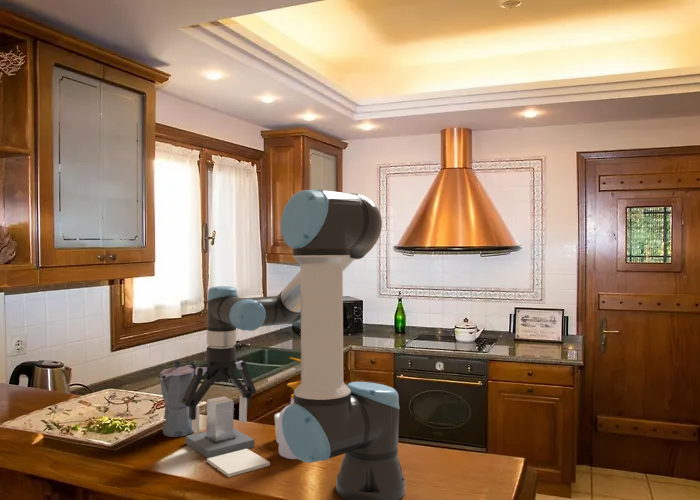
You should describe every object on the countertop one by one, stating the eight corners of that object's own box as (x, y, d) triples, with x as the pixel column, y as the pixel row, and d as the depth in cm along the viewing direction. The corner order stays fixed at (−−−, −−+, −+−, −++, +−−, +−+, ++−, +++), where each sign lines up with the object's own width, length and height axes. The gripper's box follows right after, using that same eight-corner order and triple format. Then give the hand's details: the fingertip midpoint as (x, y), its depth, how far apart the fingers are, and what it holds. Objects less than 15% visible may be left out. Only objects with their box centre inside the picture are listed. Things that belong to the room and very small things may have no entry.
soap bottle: (271, 452, 144) (273, 356, 143) (300, 444, 150) (302, 352, 149) (292, 463, 137) (294, 362, 137) (321, 454, 143) (323, 358, 143)
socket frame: (254, 447, 147) (254, 439, 147) (207, 459, 139) (208, 450, 138) (230, 433, 157) (230, 426, 157) (185, 443, 148) (185, 436, 148)
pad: (269, 465, 135) (269, 462, 135) (228, 477, 128) (228, 473, 128) (246, 451, 144) (246, 448, 144) (206, 461, 137) (206, 458, 137)
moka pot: (147, 438, 152) (148, 364, 151) (180, 420, 166) (181, 353, 166) (177, 442, 149) (178, 367, 148) (208, 424, 164) (209, 356, 163)
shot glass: (301, 436, 155) (301, 411, 155) (296, 445, 149) (297, 419, 148) (277, 435, 156) (277, 410, 156) (271, 444, 149) (271, 418, 149)
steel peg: (232, 446, 147) (233, 400, 147) (215, 450, 144) (216, 404, 144) (223, 440, 151) (224, 396, 151) (206, 444, 148) (207, 399, 148)
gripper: (255, 338, 158) (254, 413, 159) (169, 348, 142) (167, 431, 142) (269, 343, 152) (268, 420, 153) (181, 353, 136) (180, 440, 137)
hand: (219, 426), depth 148 cm, fingers open, 13 cm apart
